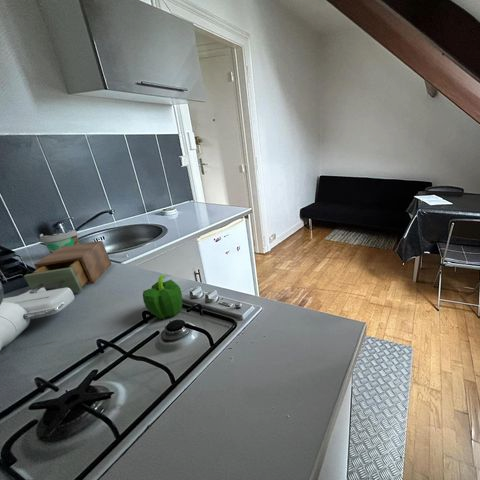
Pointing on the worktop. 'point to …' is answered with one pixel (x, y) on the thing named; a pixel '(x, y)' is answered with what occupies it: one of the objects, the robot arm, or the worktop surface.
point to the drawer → (58, 276)
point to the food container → (59, 240)
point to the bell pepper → (163, 298)
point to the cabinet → (81, 258)
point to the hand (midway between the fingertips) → (39, 290)
